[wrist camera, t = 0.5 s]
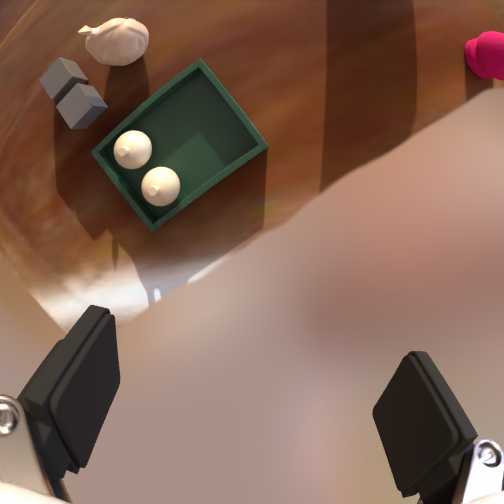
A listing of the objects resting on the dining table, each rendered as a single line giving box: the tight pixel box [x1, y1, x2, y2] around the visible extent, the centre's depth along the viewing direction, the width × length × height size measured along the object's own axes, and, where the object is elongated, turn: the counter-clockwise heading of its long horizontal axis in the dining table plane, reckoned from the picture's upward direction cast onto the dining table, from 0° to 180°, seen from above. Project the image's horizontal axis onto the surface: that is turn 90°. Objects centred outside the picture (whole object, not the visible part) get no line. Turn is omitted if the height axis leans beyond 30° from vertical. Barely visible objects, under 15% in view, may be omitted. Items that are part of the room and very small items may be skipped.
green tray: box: [91, 58, 269, 233], centre depth 33 cm, size 17×13×3 cm
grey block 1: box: [39, 57, 88, 101], centre depth 28 cm, size 4×4×4 cm
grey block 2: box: [56, 83, 108, 129], centre depth 30 cm, size 4×4×4 cm
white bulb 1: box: [114, 131, 152, 169], centre depth 31 cm, size 4×4×5 cm
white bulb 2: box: [141, 167, 180, 206], centre depth 32 cm, size 4×4×5 cm
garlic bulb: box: [78, 17, 149, 66], centre depth 25 cm, size 7×6×8 cm
